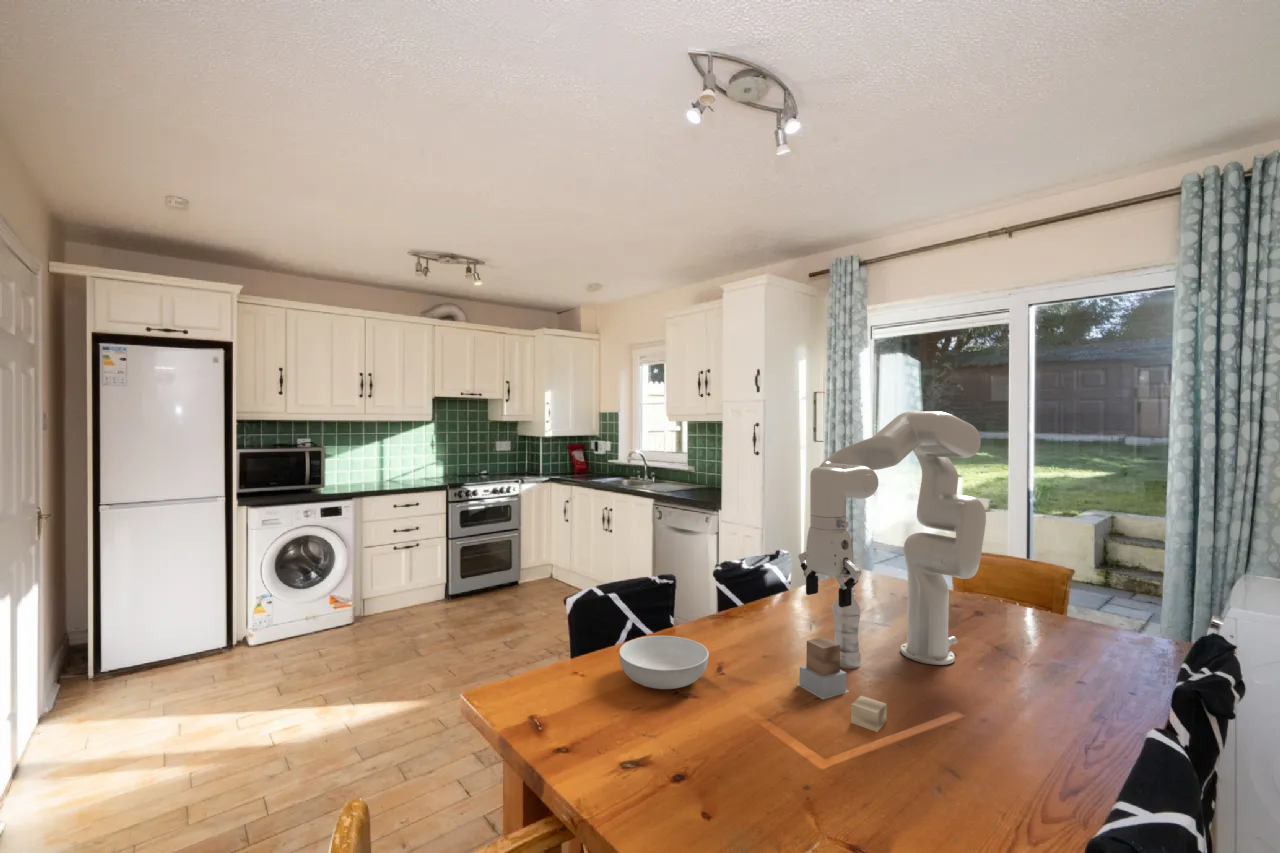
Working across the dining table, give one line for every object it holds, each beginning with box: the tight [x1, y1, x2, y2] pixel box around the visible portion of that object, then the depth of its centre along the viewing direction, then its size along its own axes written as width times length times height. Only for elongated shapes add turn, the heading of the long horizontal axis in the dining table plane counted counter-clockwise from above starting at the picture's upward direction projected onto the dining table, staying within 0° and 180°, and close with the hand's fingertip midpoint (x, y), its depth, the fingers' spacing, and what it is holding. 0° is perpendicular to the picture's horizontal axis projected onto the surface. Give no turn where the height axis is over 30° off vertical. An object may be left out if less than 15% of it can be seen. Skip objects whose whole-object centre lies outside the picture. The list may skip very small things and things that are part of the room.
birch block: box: [850, 695, 888, 733], centre depth 113 cm, size 5×5×5 cm
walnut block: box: [805, 636, 841, 676], centre depth 128 cm, size 5×5×6 cm
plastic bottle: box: [831, 585, 862, 670], centre depth 141 cm, size 6×7×20 cm
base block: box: [799, 664, 848, 698], centre depth 128 cm, size 7×7×4 cm
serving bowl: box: [618, 635, 710, 690], centre depth 134 cm, size 21×21×7 cm
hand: (828, 599), depth 128 cm, fingers open, 9 cm apart
